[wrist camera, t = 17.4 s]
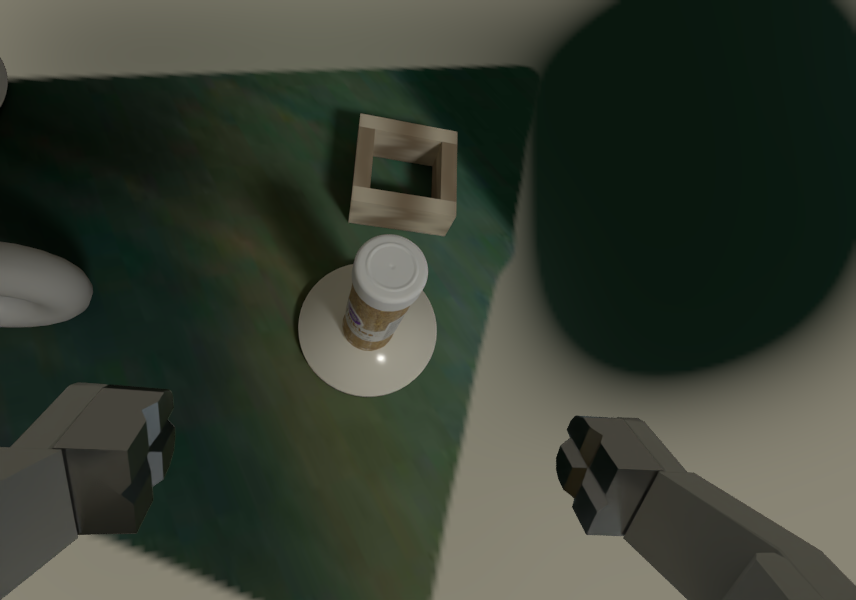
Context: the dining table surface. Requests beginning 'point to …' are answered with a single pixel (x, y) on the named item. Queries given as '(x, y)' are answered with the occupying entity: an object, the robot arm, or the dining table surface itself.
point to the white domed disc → (353, 365)
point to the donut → (39, 287)
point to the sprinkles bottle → (382, 289)
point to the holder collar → (409, 147)
